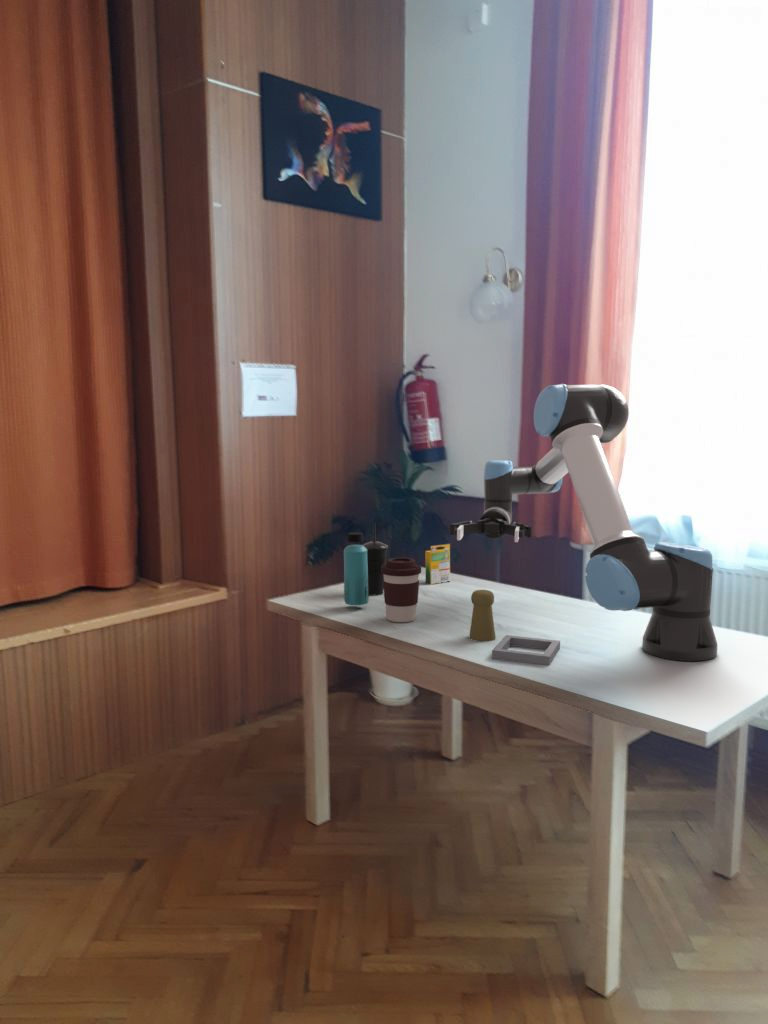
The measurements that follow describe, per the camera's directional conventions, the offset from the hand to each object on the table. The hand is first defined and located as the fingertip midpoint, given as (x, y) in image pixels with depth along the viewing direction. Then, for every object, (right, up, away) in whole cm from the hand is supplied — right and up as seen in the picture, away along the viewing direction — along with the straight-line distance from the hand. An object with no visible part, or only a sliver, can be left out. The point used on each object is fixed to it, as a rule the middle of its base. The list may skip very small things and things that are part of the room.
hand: (487, 535), depth 189 cm
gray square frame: (+6, -25, -18) cm, 31 cm away
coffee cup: (-20, -21, +10) cm, 31 cm away
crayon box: (-8, -16, +51) cm, 54 cm away
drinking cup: (-27, -18, +37) cm, 49 cm away
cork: (-2, -23, -7) cm, 24 cm away
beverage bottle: (-32, -20, +21) cm, 43 cm away
